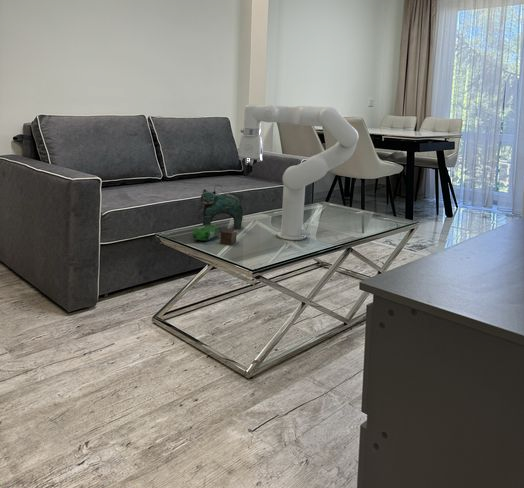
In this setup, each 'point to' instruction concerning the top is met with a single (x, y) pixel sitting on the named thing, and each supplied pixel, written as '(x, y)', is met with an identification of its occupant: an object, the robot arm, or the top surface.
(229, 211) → the ceramic cat
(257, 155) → the robot arm
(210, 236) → the snack package
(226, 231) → the walnut block
